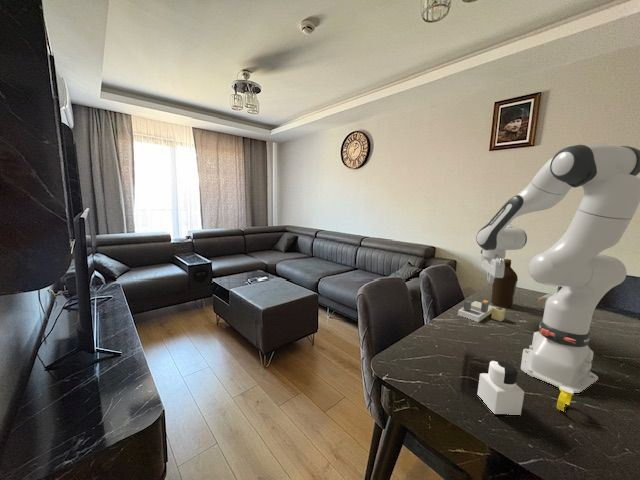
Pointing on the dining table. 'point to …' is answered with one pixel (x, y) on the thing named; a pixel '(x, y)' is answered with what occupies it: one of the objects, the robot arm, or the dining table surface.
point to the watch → (564, 397)
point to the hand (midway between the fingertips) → (490, 282)
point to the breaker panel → (475, 312)
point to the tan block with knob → (498, 313)
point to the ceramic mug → (543, 300)
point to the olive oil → (504, 287)
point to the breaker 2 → (484, 305)
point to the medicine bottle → (501, 389)
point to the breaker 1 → (467, 305)
